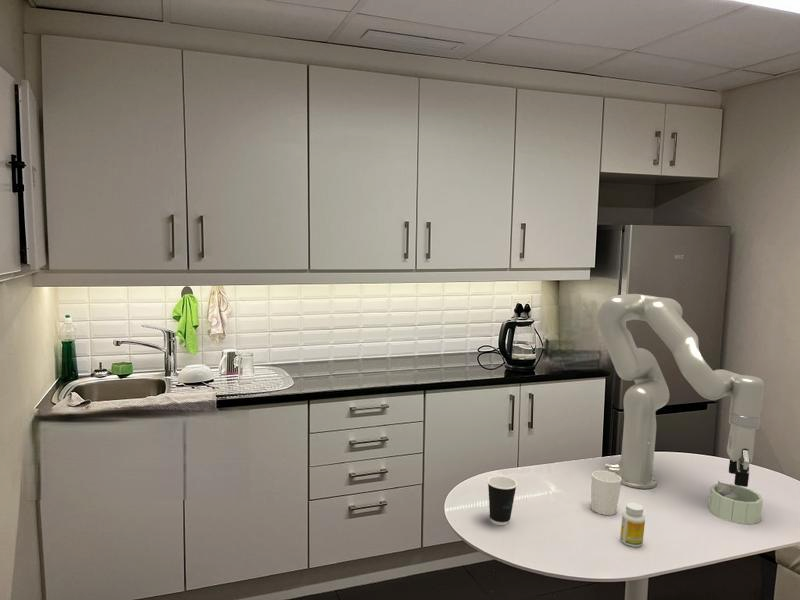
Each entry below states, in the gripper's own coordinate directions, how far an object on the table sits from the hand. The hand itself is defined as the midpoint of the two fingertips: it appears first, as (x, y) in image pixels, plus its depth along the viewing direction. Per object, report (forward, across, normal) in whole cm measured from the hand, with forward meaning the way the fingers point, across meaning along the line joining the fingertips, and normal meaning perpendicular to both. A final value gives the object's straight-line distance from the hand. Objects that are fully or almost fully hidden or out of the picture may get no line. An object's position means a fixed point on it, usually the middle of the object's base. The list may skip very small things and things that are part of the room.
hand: (737, 479), depth 169 cm
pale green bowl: (+10, 0, 0) cm, 10 cm away
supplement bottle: (+10, +30, -28) cm, 42 cm away
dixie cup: (+10, +33, -61) cm, 70 cm away
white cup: (+10, +14, -35) cm, 39 cm away
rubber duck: (+8, 0, 0) cm, 8 cm away
